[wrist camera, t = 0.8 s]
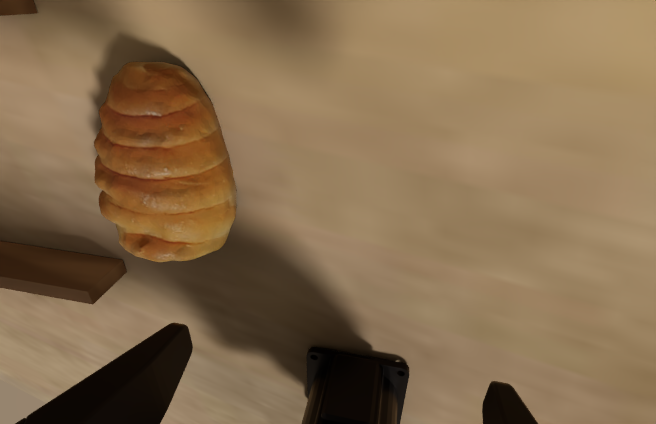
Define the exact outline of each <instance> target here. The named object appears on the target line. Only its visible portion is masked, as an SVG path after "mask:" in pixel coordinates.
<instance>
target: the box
mask: <svg viewBox="0 0 656 424" xmlns="http://www.w3.org/2000/svg"><path fill="white" fill-rule="evenodd" d="M32 13H37V10H36V7H35V4H34V1H33V0H0V16H1V15H17V14H32ZM126 272H127V271H126V268H125V265H124V263H123V260H120V259H114V258H107V257H101V256H94V255H88V254H81V253H75V252H69V251H62V250H56V249H49V248H43V247H36V246H30V245H23V244H17V243H10V242H4V241H0V288H5V289H11V290H16V291H22V292H27V293H33V294H38V295H44V296H49V297H55V298H60V299H66V300H72V301H77V302H83V303H88V304H94V303H95V302H96V301H97V300H98V299H99V298H100V297H101V296H102V295H103V294H104V293H105V292H106V291H108V290H109V289H110V288H111V287H112V286H113V285H114V284H115V283H116V282H117V281H118V280H119V279H120V278H121V277H122V276H123V275H124V274H125V273H126Z"/></svg>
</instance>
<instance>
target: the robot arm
mask: <svg viewBox="0 0 656 424" xmlns="http://www.w3.org/2000/svg"><path fill="white" fill-rule="evenodd" d="M192 348H193V346H192V341H191V337H190V333H189V329H188V327H187V326H186V325H184V324H179V323H171V324H169V325H167V326H166V327H164V328H162V329H161V330H159V331H158V332H156V333H155V334H153V335H152V336H150V337H149V338H147V339H145V340H144V341H142V342H141V343H139V344H138V345H136V346H135V347H133V348H132V349H130V350H128V351H127V352H125V353H124V354H122V355H121V356H119V357H118V358H116V359H115V360H113V361H111V362H110V363H108V364H107V365H105V366H104V367H102V368H101V369H99V370H98V371H96V372H95V373H93V374H91V375H90V376H88V377H87V378H85V379H84V380H82V381H81V382H79V383H78V384H76V385H74V386H73V387H71V388H70V389H68V390H67V391H65V392H64V393H62V394H61V395H59V396H57V397H56V398H54V399H53V400H51V401H50V402H48V403H47V404H45V405H44V406H42V407H40V408H39V409H37V410H36V411H34V412H33V413H31V414H30V415H28V416H27V418H23V419H22V420H20V421H19V422H17V423H16V424H160V422H161V421H162V419H163V417H164V415H165V413H166V411H167V409H168V407H169V405H170V403H171V400H172V398H173V396H174V393H175V391H176V389H177V386H178V384H179V382H180V379H181V377H182V375H183V372H184V370H185V368H186V365H187V363H188V361H189V358H190V356H191V353H192ZM408 378H409V367H408V365H406V364H404V363H400V362H395V361H389V360H384V359H378V358H373V357H367V356H362V355H356V354H351V353H345V352H340V351H334V350H329V349H323V348H318V347H311V348H309V350H308V353H307V384H308V402H307V406H306V409H305V413H304V417H303V420H302V424H400V420H401V415H402V410H403V404H404V399H405V394H406V389H407V384H408ZM482 413H483V424H538V423H537V421H536V420H535V418H534V417H533V416H532V414H531V413H530V411H529V410H528V408H527V407H526V405H525V404H524V403H523V401H522V400H521V398H520V397H519V395H518V394H517V392H516V391H515V390H514V388H513V387H512V386H511V385H510V384H507V383H502V382H497V381H492V382H491V383H490V385H489V388H488V390H487V393H486V396H485V399H484V401H483V408H482Z"/></svg>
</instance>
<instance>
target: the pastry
mask: <svg viewBox="0 0 656 424" xmlns="http://www.w3.org/2000/svg"><path fill="white" fill-rule="evenodd" d="M99 114H100V118H101V122H102V127H101V129H100V131H99V133H98V135H97V137H96V139H95V141H94V146H95V148H96V150H97V152H98V154H99V155H98V156H97V158H96V160H95V183H96V184H97V186H98V187H99V188H101V189H102V190H103V191H102V192H101V193H100V196H99V206H100V210H101V214H102V215H103V216H104V217H105V218H106V219H108V220H110V221H112V222H114V223H116V227H117V230H118V233H119V243H120V245H121V246H123V247H124V249H125V250H126V251H128V252H129V253H131V254H133V255H135V256H137V257H141V258H144V259H148V260H151V261H156V262H166V261H172V260H177V261H187V260H192V259H195V258H199V257H201V256H203V255H206V254H208V253H211V252H213V251H216V250H219V249H220V248H221V247H222V246H223V245H224V243H225V242H226V239H227V237H228V234H229V232H230V228H231V225H232V223H233V221H234V219H235V215H236V191H237V190H236V185H235V181H234V178H233V170H232V167H231V164H230V158H229V154H228V151H227V149H226V145H225V142H224V139H223V135H222V131H221V128H220V125H219V121H218V118H217V116H216V113H215V110H214V107H213V104H212V102H211V101H210V100H209V98H208V97H207V95H206V94H205V92H204V90H203V89H202V87H201V85H200V83H199V82H198V80H197V79H196V78H195V77H194V76H193V75H191V74H190V73H189V72H188V71H186V70H185V69H184V68H182V67H180V66H177V65H173V64H169V63H166V62H129V63H127V64H126V65H124V66H123V68H122V69H121V70H120V71H119V73H118V74H117V75H115V76H114V77H113V78H112V81H111V85H110V88H109V92H108V96H107V99H106V101H105V103H104V104H103V105H102V106H101V108H100V110H99Z"/></svg>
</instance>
